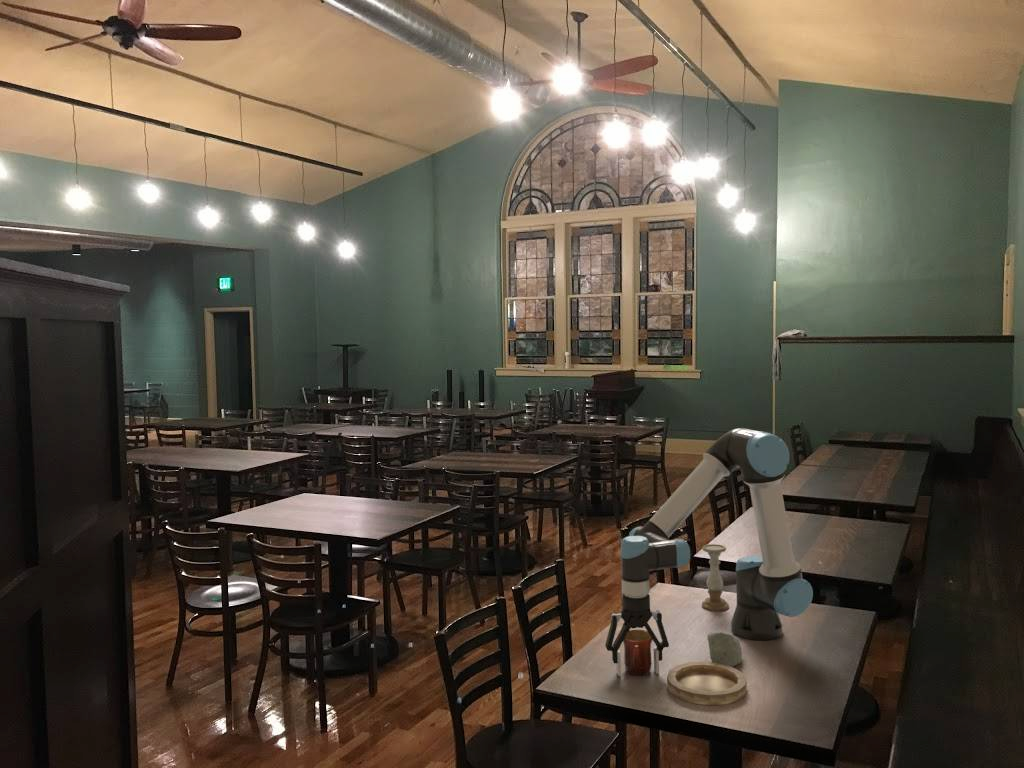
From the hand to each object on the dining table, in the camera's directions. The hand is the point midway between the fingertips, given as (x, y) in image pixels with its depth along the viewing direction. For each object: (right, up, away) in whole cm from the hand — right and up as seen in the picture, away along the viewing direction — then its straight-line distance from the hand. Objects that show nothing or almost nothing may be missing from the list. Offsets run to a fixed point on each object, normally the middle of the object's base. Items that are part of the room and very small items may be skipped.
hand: (637, 672), depth 230 cm
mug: (0, 0, 0) cm, 0 cm away
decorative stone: (+26, +1, +6) cm, 26 cm away
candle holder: (+33, +5, +50) cm, 60 cm away
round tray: (+17, 0, -10) cm, 19 cm away
